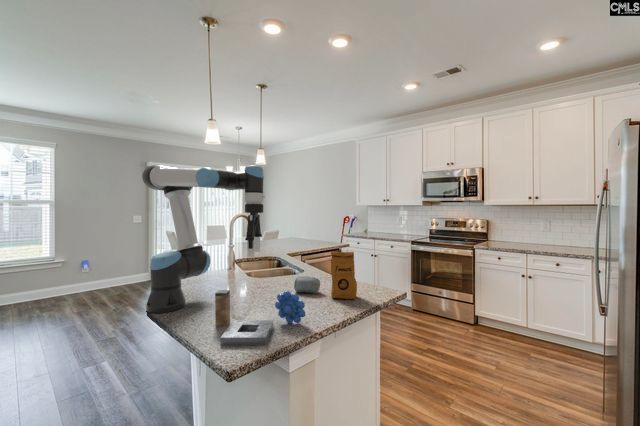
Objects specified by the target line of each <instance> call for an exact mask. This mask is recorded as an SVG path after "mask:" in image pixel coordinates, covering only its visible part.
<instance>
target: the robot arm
mask: <svg viewBox="0 0 640 426" xmlns="http://www.w3.org/2000/svg"><path fill="white" fill-rule="evenodd" d="M141 179H142V182H143V184H145V186H146V187H147V188H150V189H151V190H155V191H162V192H163V194H164V197H165V198H167V199H168V200H169V201H168V202H169V205H170V206H169V207H170V211H171V216H172V221H173V225H174V230H175V235H176V240H177V246H178V248H177V249H176V250H173V251H164V252H161V253H158V254H155V255H154V256H152V257H151V259H150V263H149V264H150V265H149V268H150V269H149V270H150V293H149V296H148V299H147V301H146V304H145V309H146V312H147V313H151V314H152V313H153V314H161V313H168V312H174V311H177V310H181V309H182V308H185V306H186V305H187V303H186V297H185V294H184V292H183V289H182V280H186V279H188V278H193V277H198V276H200V275H203V274H205V273H206V272H207V271H208V270H209V269H210V266H211V256H210V254H209V252H208V251H207V250H204V248H203V245H202V244H200V243H199V240H198V235H197V232H196V228H195V223H194V218H193V213H192V210H191V209H192V208H191V204H190V200H189V196H190V195H191V191H192V190H193V188H206V189H207V188H209V189H210V188H211V189H212V188H213V189H222V190H227V191H235V190H236V191H237V190H238V191H240V190H241V191H242V190H244V202H245V204H244V212H245V213H247V214H248V215H247V225H246V227H247V228H246V237H245V241H247V246H246V249H247V251H246V252H247V255H246V256H247V258H255V255H256V254H255V253H256V252H257V253H261V238H262V237H263V233H262V232H261V220H260V219H261V218H260V217H261V215H260V213H261V214H263V213H264V204H263V203H264V198H265V196H266V195H264V169H263V167H262V166H258V165H246V166H245V167H244V171H231V170H224V169H217V168H213V167H205V166H204V167H201V168H196V167H195V168H188V167H187V168H184V167H183V168H182V167H172V166H168V165H160V164H152V165H149V166H147V167H145V168H144V170H143V171H142V174H141Z"/></svg>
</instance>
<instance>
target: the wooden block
mask: <svg viewBox="0 0 640 426" xmlns="http://www.w3.org/2000/svg"><path fill="white" fill-rule="evenodd" d="M230 293H231V290H230V289H219V290H217V291H216V292H215V293H214V300H215V301H214V303H215V305H214V306H215V307H214V308H215V311H214V313H215V314H214V315H215V316H214V317H215V321H214V322H215V327H227V326H228V325H230V322H231V294H230Z"/></svg>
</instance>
